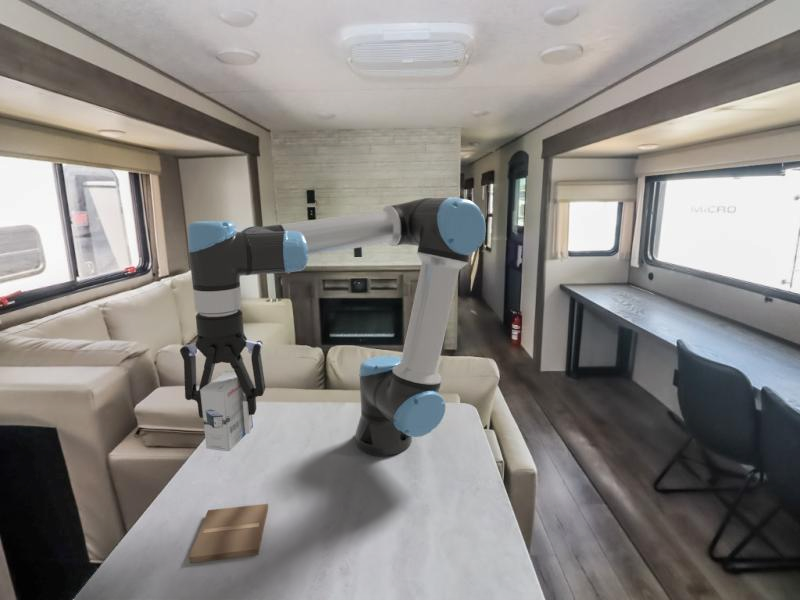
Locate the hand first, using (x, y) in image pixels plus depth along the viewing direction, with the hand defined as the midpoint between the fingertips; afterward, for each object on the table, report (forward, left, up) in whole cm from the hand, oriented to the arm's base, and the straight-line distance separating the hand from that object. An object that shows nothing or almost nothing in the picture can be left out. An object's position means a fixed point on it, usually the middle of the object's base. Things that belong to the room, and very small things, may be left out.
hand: (229, 430), depth 79 cm
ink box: (0, 0, -2) cm, 2 cm away
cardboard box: (+2, +1, -22) cm, 22 cm away
